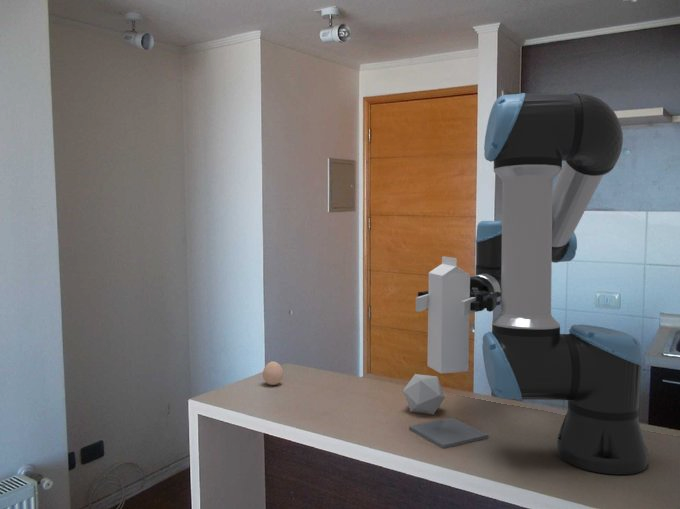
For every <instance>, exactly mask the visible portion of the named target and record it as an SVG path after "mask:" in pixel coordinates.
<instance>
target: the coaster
mask: <svg viewBox="0 0 680 509" xmlns="http://www.w3.org/2000/svg"><path fill="white" fill-rule="evenodd" d="M408 429H409V430H410V431H411V432H413V433H415V434H417V435H419V436H420V437H422V438H424V439H426V440H428V441H429V442H431V443H433V444H435V445H437V446H438V447H440V448H442V449H447V448H450V447H454V446H459V445H463V444H468V443H471V442H477V441H480V440H485V439H488V438H489V434H488V433H486V432H484V431H481V430H479V429H477V428H475V427H473V426H472V425H470V424H469V425H468V424H467V423H465V422H463V421H460V420H458V419H456V418H454V417H449V418H443V419H439V420H434V421H429V422H424V423H419V424H414V425H409V427H408Z"/></svg>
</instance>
